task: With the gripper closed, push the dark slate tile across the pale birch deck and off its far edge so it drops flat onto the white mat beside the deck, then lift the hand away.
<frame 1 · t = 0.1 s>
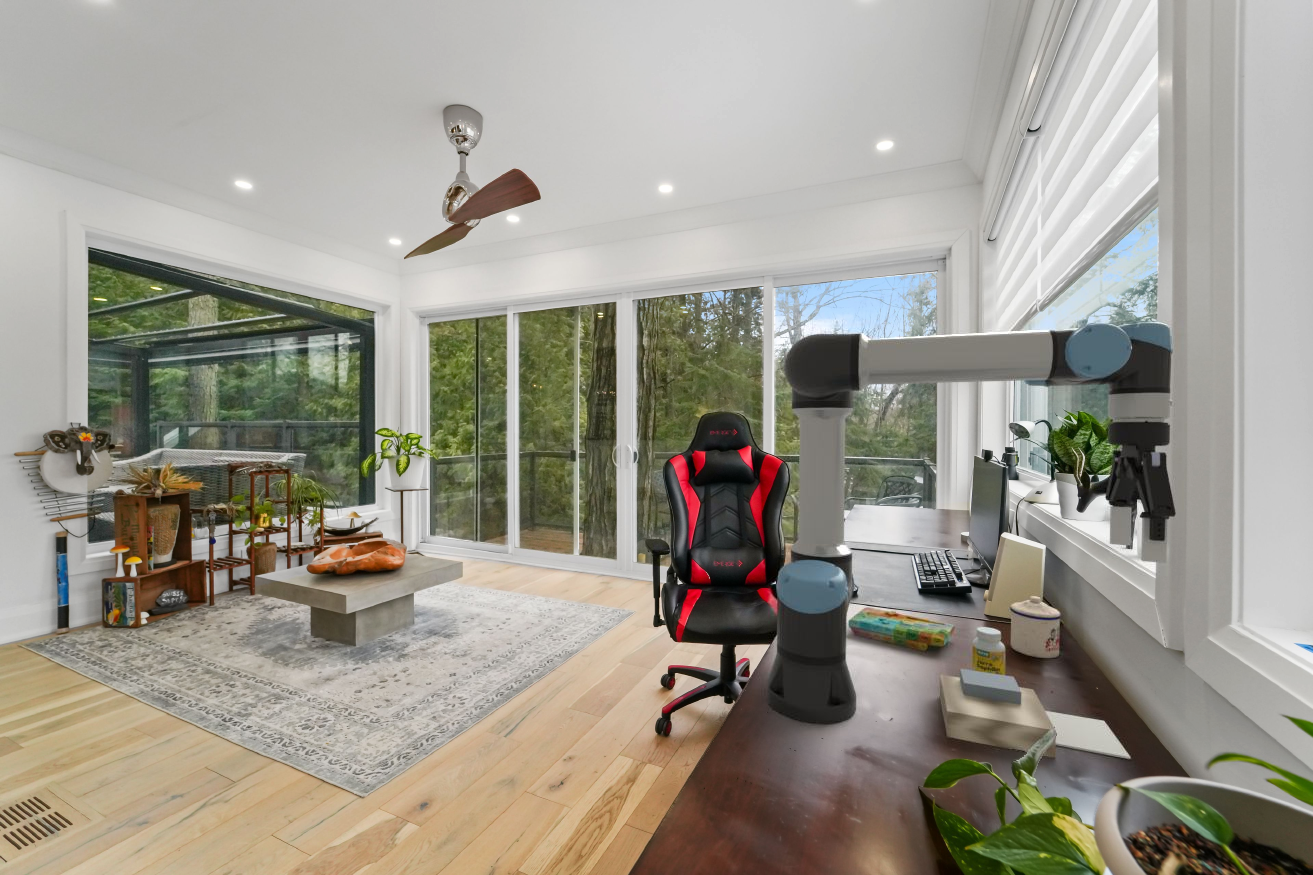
hand: (1135, 552, 90), 28 cm above the table, fingers open, 13 cm apart
slate tile: (989, 691, 93), point 4 cm above the table, touching birch deck
birch deck: (991, 724, 90), on the table
white mat: (1078, 732, 88), on the table
teacup with lid: (1035, 649, 121), on the table
puzzle game: (900, 640, 127), on the table
supplement bottle: (988, 681, 106), on the table
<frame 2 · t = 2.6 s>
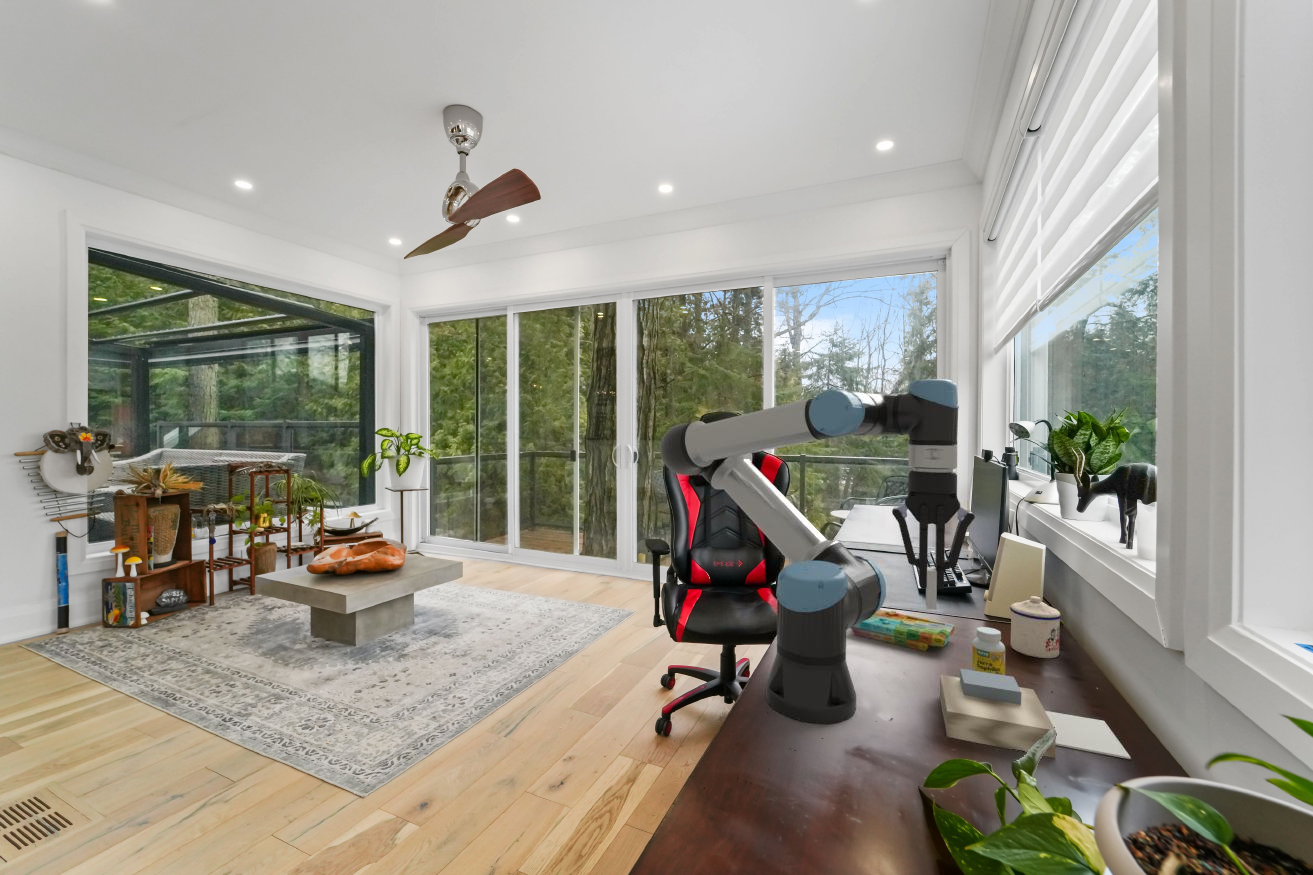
hand: (931, 606, 96), 17 cm above the table, fingers closed
nothing on the table moved.
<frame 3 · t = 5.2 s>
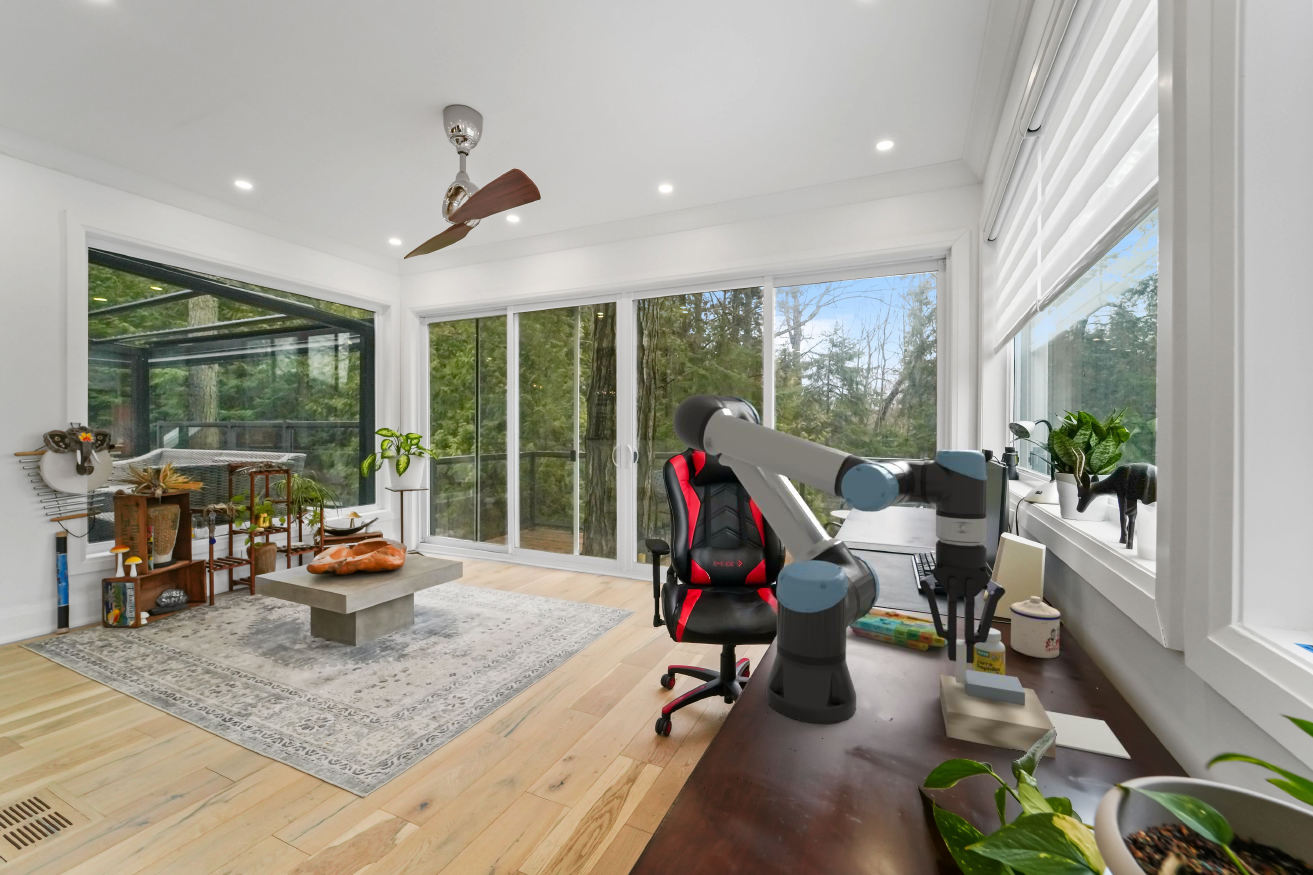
hand: (960, 680, 94), 5 cm above the table, fingers closed
slate tile: (992, 692, 92), point 4 cm above the table
everything else where it was.
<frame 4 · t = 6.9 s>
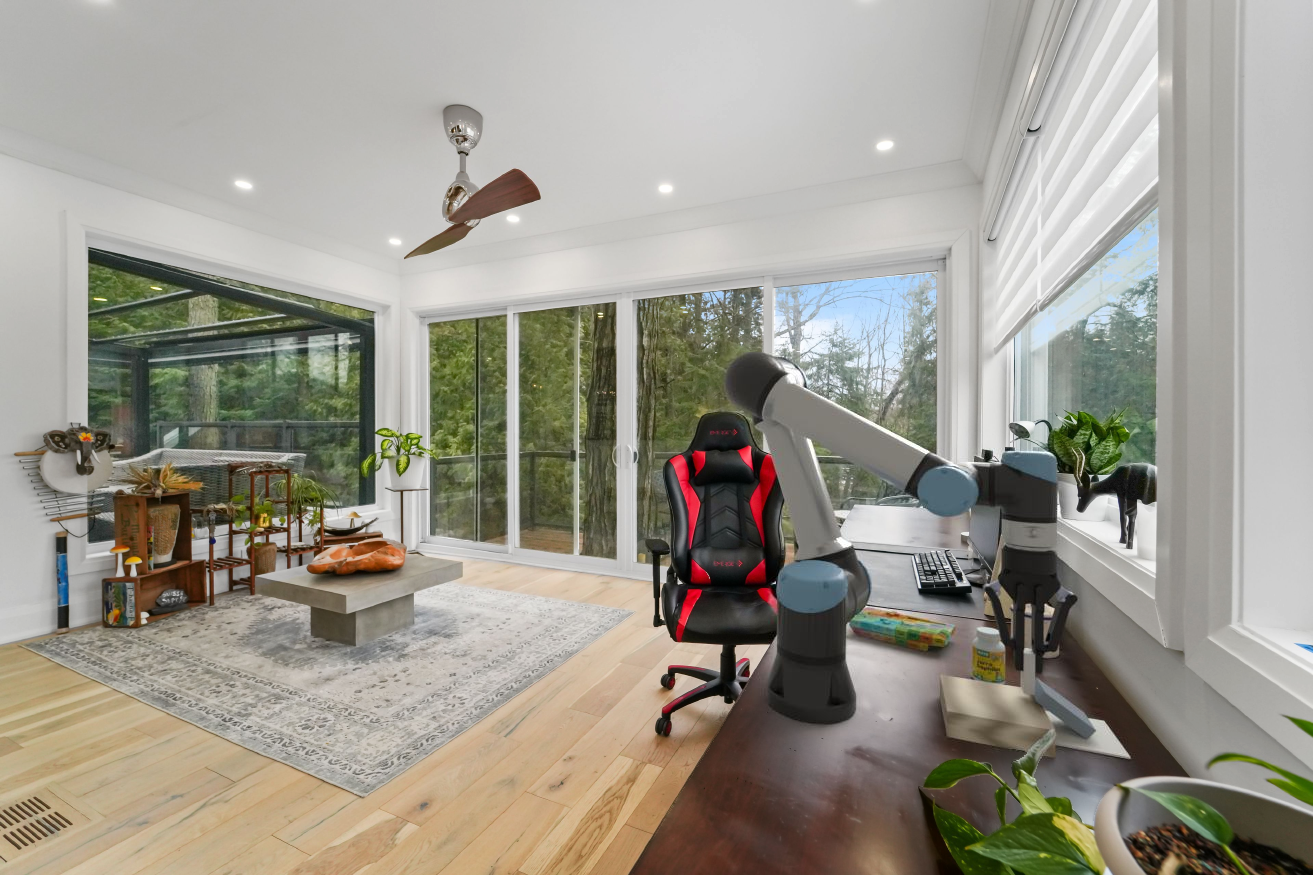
hand: (1027, 690, 90), 5 cm above the table, fingers closed
slate tile: (1056, 711, 89), point 3 cm above the table, tilted 35°, touching white mat, gripper
everything else where it was.
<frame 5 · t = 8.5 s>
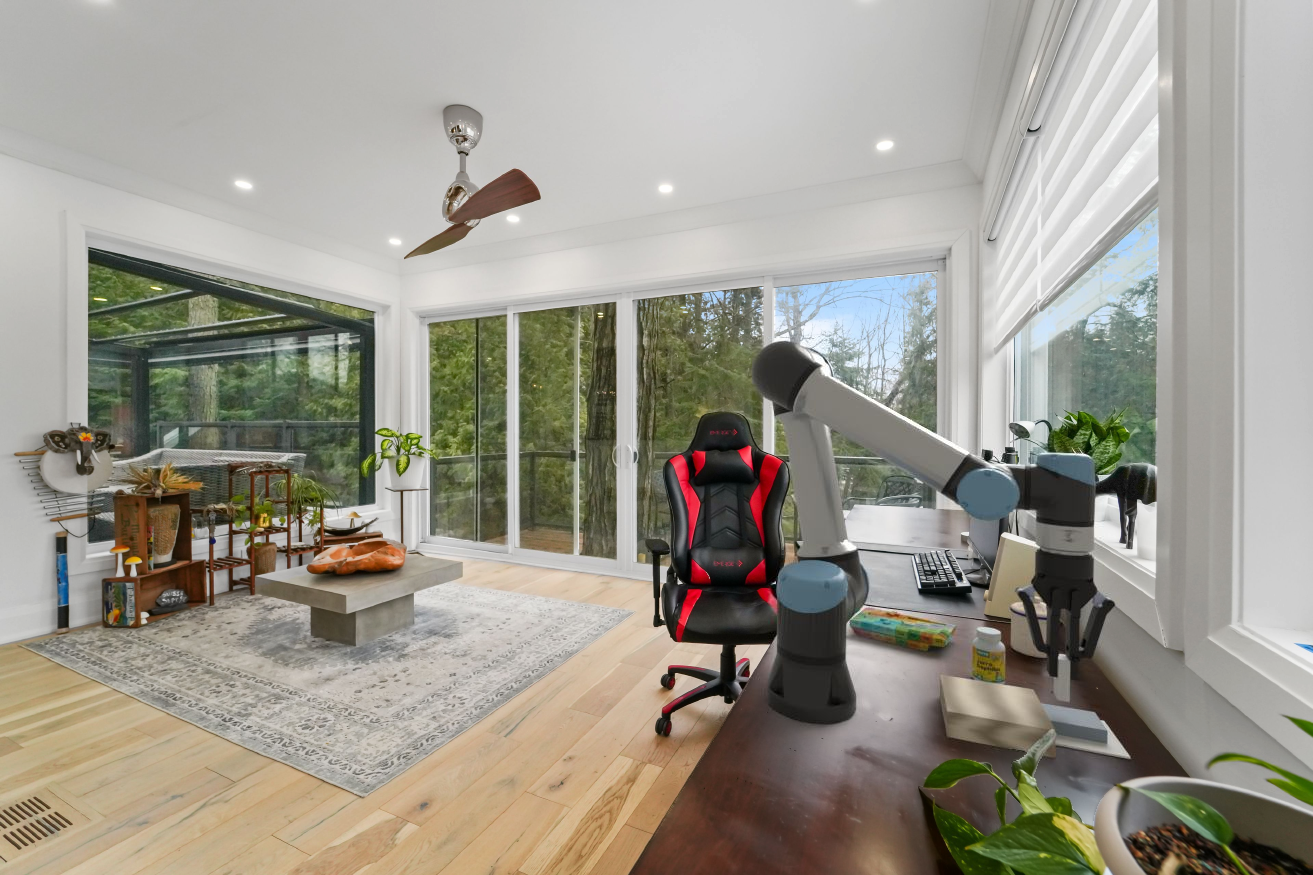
hand: (1061, 697, 89), 5 cm above the table, fingers closed
slate tile: (1069, 728, 88), resting on white mat
everything else where it was.
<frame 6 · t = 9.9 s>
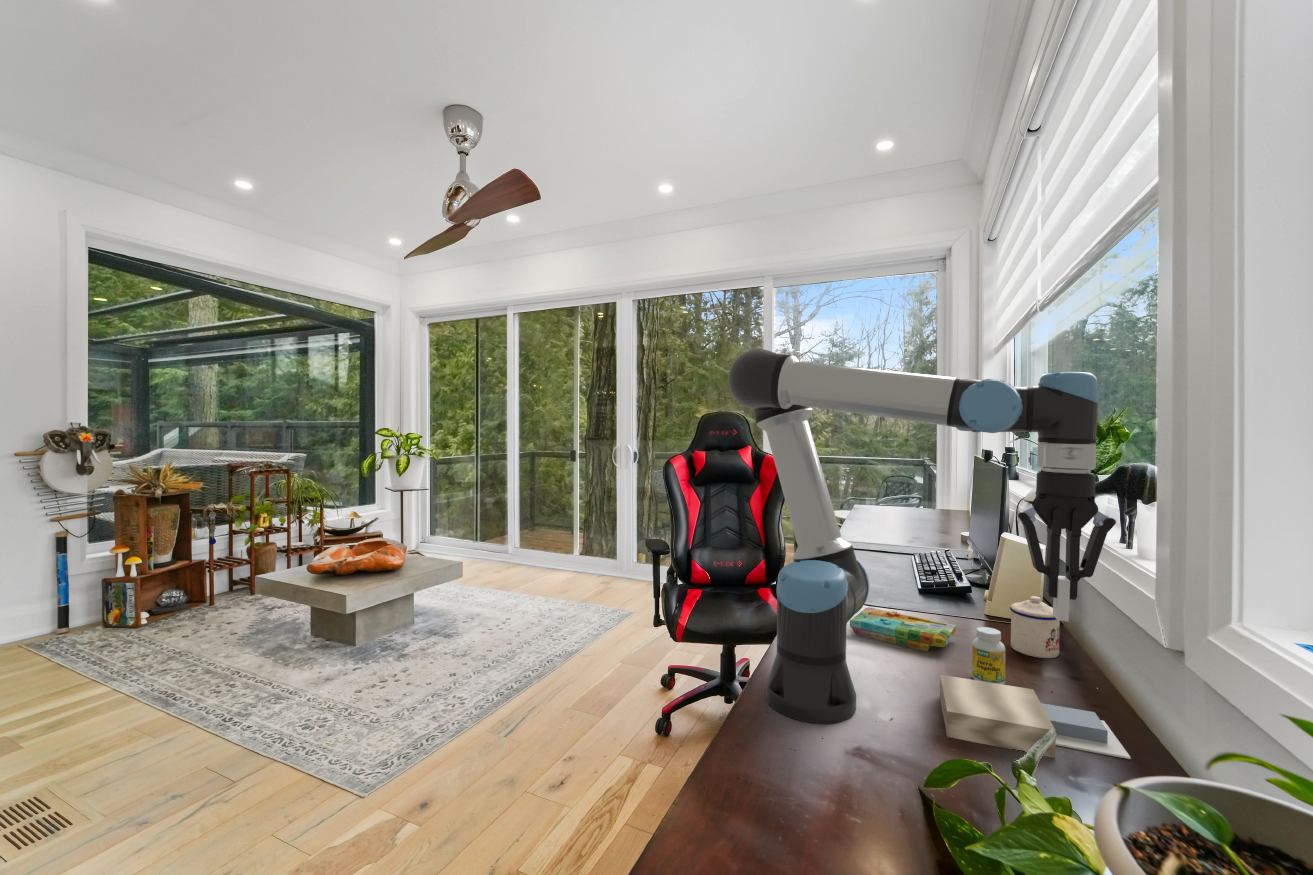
hand: (1060, 617, 89), 18 cm above the table, fingers closed
nothing on the table moved.
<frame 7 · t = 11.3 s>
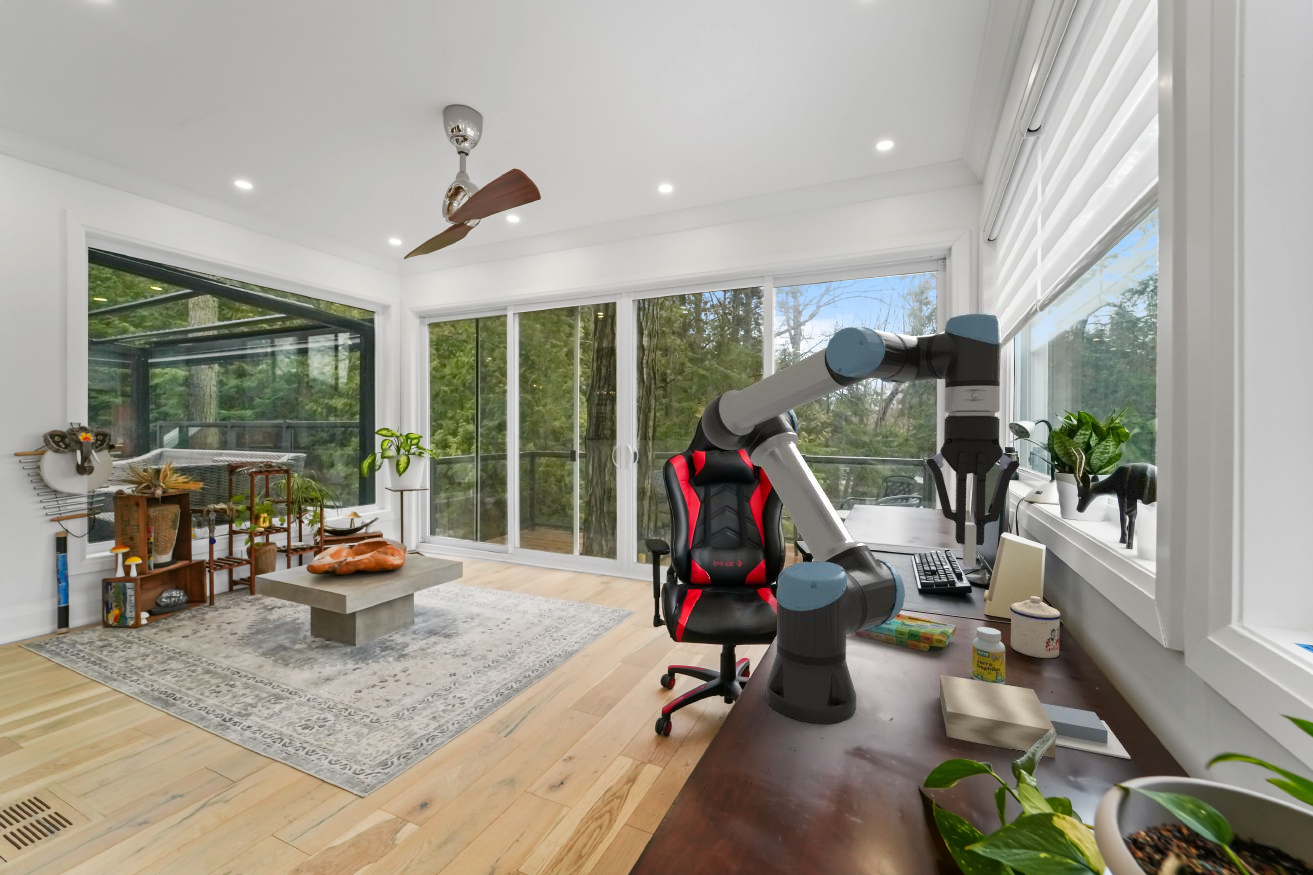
hand: (969, 564, 87), 26 cm above the table, fingers closed
nothing on the table moved.
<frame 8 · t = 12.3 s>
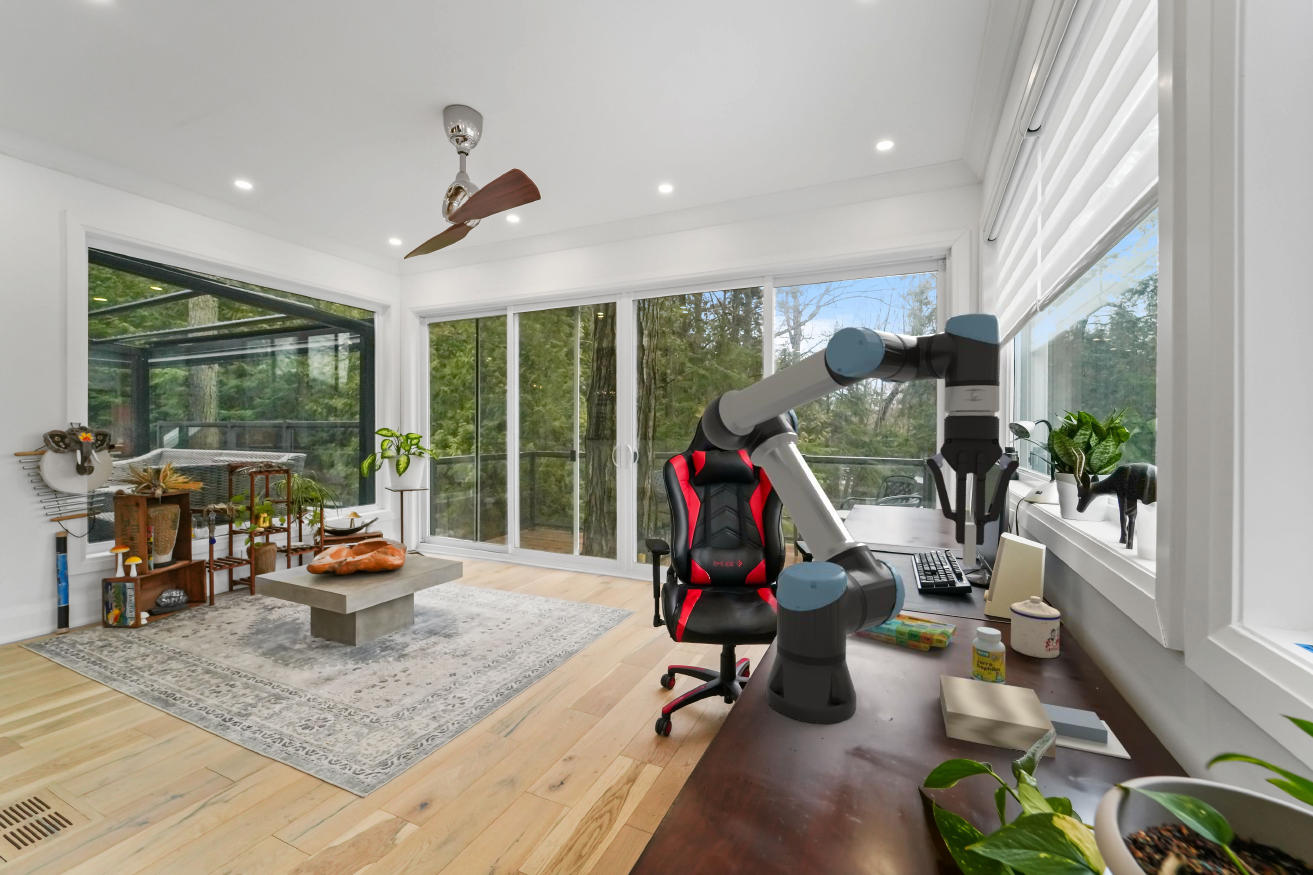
hand: (969, 564, 87), 26 cm above the table, fingers closed
nothing on the table moved.
at the end: slate tile inside the target area on the white mat (1.1 cm from its centre), point 0.3 cm above the white mat's base; slate tile resting on white mat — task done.
